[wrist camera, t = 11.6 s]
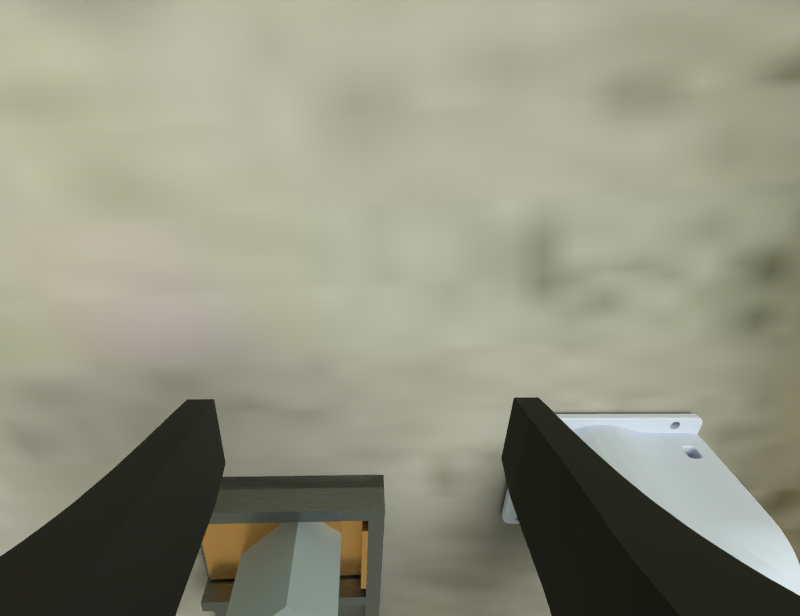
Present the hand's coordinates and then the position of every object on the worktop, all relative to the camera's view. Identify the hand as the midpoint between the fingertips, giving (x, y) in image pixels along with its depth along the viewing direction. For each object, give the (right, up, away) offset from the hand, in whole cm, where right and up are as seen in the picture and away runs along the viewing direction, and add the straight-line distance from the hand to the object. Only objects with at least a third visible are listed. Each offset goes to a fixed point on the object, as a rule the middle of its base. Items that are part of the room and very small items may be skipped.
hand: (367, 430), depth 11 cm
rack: (-6, -16, +19) cm, 26 cm away
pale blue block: (-5, -10, +15) cm, 19 cm away
